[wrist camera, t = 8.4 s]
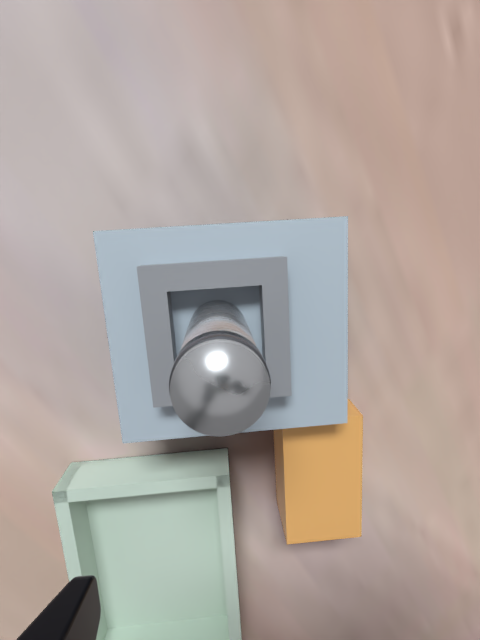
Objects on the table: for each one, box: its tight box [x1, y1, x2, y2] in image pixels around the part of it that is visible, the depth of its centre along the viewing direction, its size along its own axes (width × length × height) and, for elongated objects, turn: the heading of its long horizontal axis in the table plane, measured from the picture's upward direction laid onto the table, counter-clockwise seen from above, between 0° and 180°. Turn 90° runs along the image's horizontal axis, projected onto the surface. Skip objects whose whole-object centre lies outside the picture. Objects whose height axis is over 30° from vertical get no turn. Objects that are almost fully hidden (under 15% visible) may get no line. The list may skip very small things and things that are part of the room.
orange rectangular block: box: [274, 399, 363, 544], centre depth 20 cm, size 7×4×4 cm, turn 3°
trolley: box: [93, 216, 348, 443], centre depth 17 cm, size 9×10×6 cm
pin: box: [169, 300, 271, 437], centre depth 12 cm, size 2×2×6 cm
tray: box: [52, 448, 242, 640], centre depth 21 cm, size 12×9×2 cm
